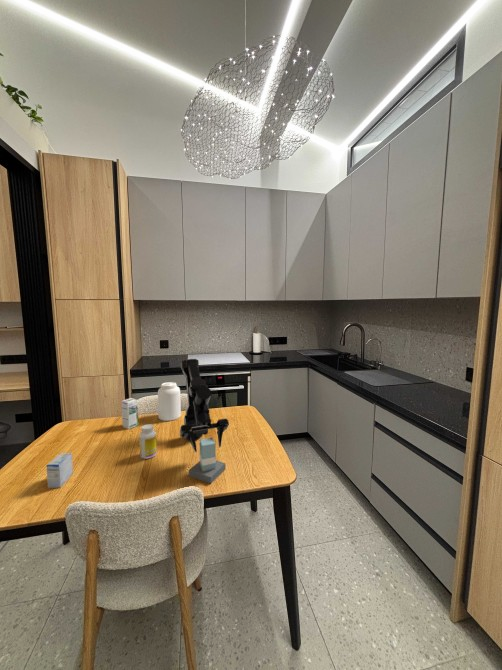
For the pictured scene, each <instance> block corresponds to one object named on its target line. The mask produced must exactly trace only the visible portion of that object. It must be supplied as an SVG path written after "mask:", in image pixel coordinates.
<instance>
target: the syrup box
mask: <svg viewBox="0 0 502 670" xmlns="http://www.w3.org/2000/svg"><path fill="white" fill-rule="evenodd" d="M138 410H139V409H138V399H136V398H134V397H129V398H126V399H124V400H121V421H122V422H121V423H122V427H123V428H124V429H128V430H130V429H132V428H135V427H137V426H139V411H138Z"/></svg>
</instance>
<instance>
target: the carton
mask: <svg viewBox="0 0 502 670" xmlns="http://www.w3.org/2000/svg"><path fill="white" fill-rule="evenodd" d="M216 459H217V458H216V442H215V439H213V437H207V438H203V439H202V438H201V439H199V461H200V466H201V469H202V471H207V470H211V469H216V461H217V460H216Z"/></svg>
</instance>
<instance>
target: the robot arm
mask: <svg viewBox="0 0 502 670" xmlns="http://www.w3.org/2000/svg"><path fill="white" fill-rule="evenodd" d="M199 364H200V362H199V359H197V358H187V359H182V361H180V369H181V371H182V374H183V375H184V377H185V381H186V394H187V404H188V405H187V406H188V407H187V409H186V411H185V414H184V418H183V424H181V426H180V428H179V437H180V438H183V439H186V440H188V442H189V443H190V444H191V446H192V449H193V451H194V453H197V444H196V441H197V440H199V439H200V438H201V437H203V436H204V435H205V436H206V435H207V434H208V433H209V430H212V429H216V434H217V443H218V448H222V447H221V446H222V441H223V433H224V432H225V431H226V430H227V429H228V427H229V426H230V423H229V420H228V418H221V419H217V422H214V423H212V419H211V415H210V414H211V413H210V408H209V402H210V399H211V397H212V390H211V389H210V388H209V387H208V386H209V385H207V384H206V381H205V379H202V377H201V374H200V370H199V367H200V365H199Z"/></svg>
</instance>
